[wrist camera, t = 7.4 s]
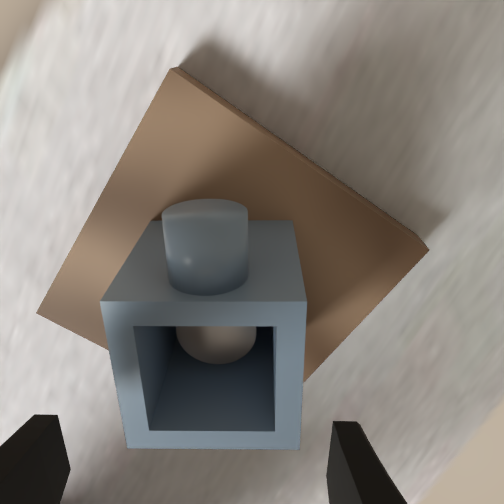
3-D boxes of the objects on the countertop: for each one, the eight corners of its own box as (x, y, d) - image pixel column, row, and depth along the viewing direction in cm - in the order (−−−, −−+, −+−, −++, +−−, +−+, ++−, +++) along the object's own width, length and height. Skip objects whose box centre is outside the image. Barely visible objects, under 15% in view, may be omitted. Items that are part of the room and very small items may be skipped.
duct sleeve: (288, 337, 19) (299, 449, 14) (164, 336, 20) (127, 448, 14) (293, 170, 16) (310, 233, 11) (144, 171, 16) (86, 233, 11)
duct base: (260, 405, 23) (260, 492, 19) (50, 295, 21) (-9, 366, 16) (417, 235, 19) (466, 295, 14) (177, 66, 16) (145, 75, 12)
